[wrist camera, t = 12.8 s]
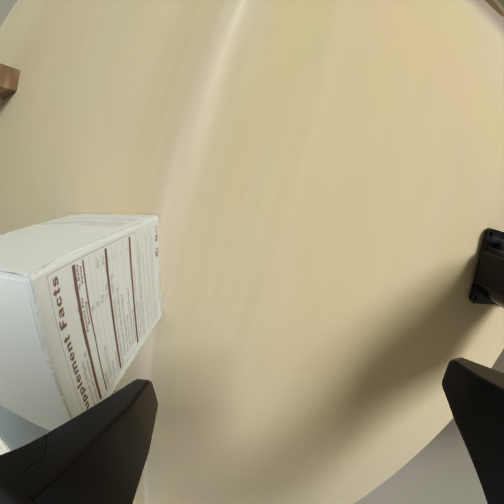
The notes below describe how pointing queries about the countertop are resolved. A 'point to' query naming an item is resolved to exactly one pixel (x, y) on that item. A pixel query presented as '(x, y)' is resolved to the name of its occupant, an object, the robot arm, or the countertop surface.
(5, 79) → the door frame
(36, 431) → the door
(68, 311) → the supplement box
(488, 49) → the countertop surface
